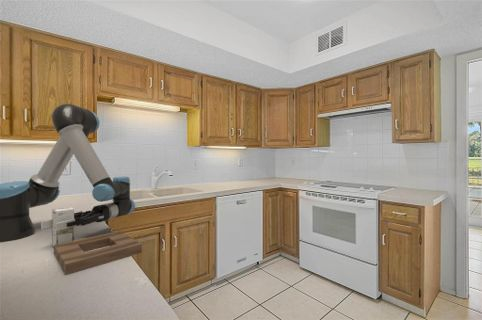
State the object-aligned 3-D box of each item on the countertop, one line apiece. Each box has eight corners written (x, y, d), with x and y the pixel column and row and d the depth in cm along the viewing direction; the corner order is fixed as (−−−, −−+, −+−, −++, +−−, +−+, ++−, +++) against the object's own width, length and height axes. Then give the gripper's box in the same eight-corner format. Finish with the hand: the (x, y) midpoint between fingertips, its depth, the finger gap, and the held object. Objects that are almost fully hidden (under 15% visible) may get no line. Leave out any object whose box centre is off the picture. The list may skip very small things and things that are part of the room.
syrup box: (69, 242, 93) (69, 206, 93) (74, 245, 89) (74, 208, 89) (52, 246, 89) (51, 208, 89) (56, 250, 85) (55, 210, 85)
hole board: (53, 253, 82) (53, 244, 82) (120, 237, 98) (119, 230, 98) (65, 274, 67) (65, 264, 67) (141, 252, 83) (141, 244, 83)
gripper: (121, 222, 103) (68, 239, 81) (88, 218, 109) (31, 233, 88) (121, 205, 103) (68, 218, 81) (88, 202, 109) (30, 213, 88)
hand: (48, 226), depth 84 cm, fingers closed on syrup box, 7 cm apart
